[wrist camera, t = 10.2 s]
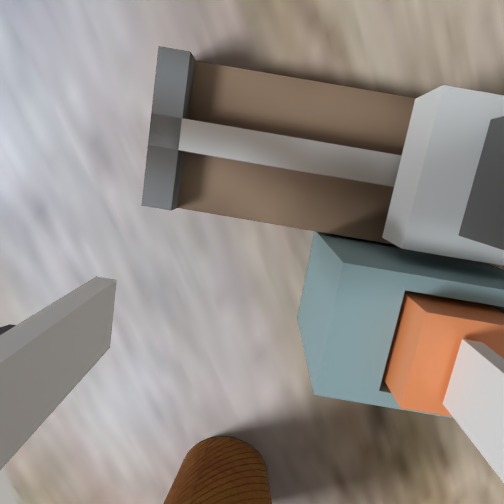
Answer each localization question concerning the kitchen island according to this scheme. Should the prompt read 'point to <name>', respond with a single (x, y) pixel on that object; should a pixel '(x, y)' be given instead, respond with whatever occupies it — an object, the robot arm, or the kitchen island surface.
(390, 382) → the button
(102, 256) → the kitchen island surface
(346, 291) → the cabinet
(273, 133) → the rail board
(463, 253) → the carriage
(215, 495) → the disposable coffee cup
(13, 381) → the robot arm
